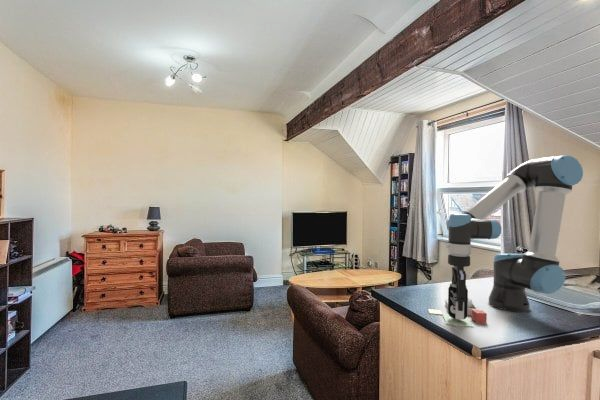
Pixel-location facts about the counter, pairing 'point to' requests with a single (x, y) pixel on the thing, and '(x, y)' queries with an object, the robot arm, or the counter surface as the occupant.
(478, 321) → the red die
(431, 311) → the track space
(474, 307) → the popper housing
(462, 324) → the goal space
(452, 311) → the beverage can
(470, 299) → the dome
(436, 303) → the counter surface
